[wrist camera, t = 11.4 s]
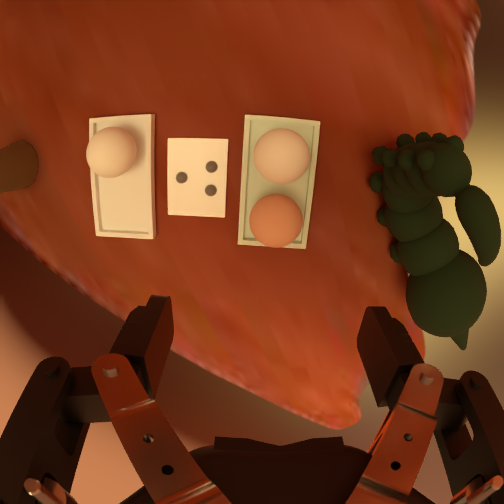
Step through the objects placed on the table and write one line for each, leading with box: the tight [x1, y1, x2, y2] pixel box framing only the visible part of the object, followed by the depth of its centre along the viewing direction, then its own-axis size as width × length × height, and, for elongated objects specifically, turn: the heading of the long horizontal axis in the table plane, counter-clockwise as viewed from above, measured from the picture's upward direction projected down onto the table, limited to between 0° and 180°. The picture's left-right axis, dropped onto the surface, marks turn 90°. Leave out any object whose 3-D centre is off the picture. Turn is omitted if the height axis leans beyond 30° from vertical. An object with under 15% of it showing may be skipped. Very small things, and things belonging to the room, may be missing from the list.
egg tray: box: [89, 114, 156, 239], centre depth 30 cm, size 13×7×1 cm, turn 176°
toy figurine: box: [369, 132, 501, 350], centre depth 25 cm, size 9×19×25 cm
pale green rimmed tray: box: [238, 115, 320, 249], centre depth 30 cm, size 13×7×1 cm, turn 176°
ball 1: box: [86, 127, 136, 178], centre depth 27 cm, size 5×5×5 cm
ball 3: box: [249, 194, 303, 248], centre depth 30 cm, size 5×5×5 cm
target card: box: [168, 138, 229, 218], centre depth 31 cm, size 8×6×1 cm
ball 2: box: [253, 128, 310, 184], centre depth 27 cm, size 5×5×5 cm
